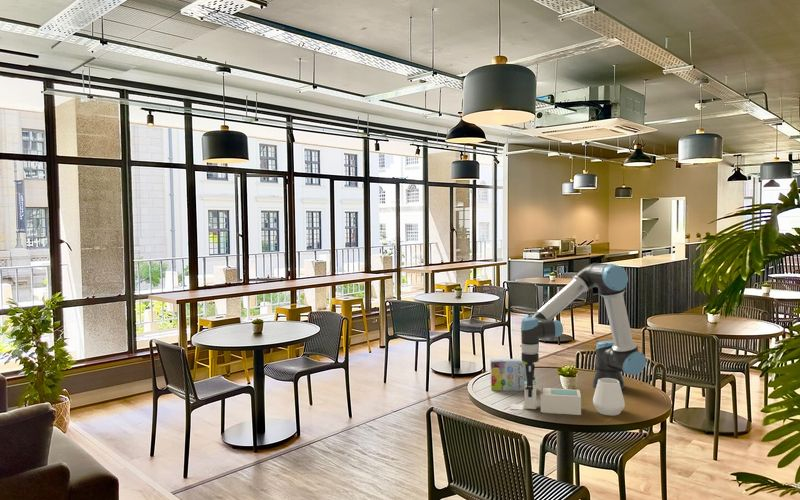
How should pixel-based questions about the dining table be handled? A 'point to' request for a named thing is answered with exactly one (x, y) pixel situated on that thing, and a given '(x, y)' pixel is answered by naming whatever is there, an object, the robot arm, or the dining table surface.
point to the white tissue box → (560, 401)
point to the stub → (533, 406)
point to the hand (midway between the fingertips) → (530, 398)
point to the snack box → (508, 374)
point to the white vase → (608, 397)
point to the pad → (516, 407)
